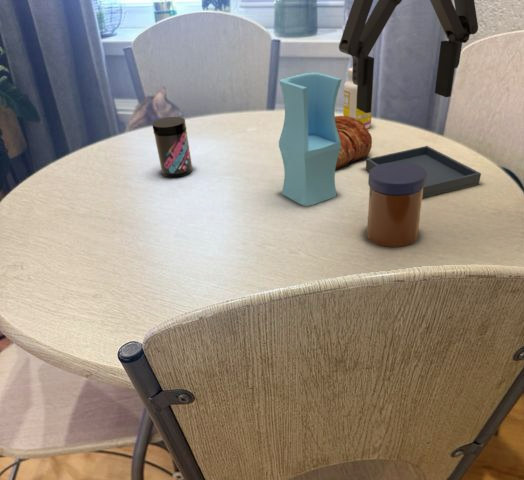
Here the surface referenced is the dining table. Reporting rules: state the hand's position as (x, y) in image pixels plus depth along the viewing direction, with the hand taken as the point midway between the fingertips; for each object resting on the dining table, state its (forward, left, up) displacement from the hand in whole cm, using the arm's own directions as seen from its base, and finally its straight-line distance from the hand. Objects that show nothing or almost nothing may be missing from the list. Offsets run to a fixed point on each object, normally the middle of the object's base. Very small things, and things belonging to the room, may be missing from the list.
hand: (403, 102), depth 74 cm
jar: (0, 0, -20) cm, 20 cm away
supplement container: (+46, +25, -20) cm, 56 cm away
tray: (+18, -17, -20) cm, 32 cm away
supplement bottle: (+51, -21, -20) cm, 59 cm away
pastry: (+36, -9, -20) cm, 42 cm away
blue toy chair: (+21, +5, -20) cm, 30 cm away
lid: (0, 0, -10) cm, 10 cm away
